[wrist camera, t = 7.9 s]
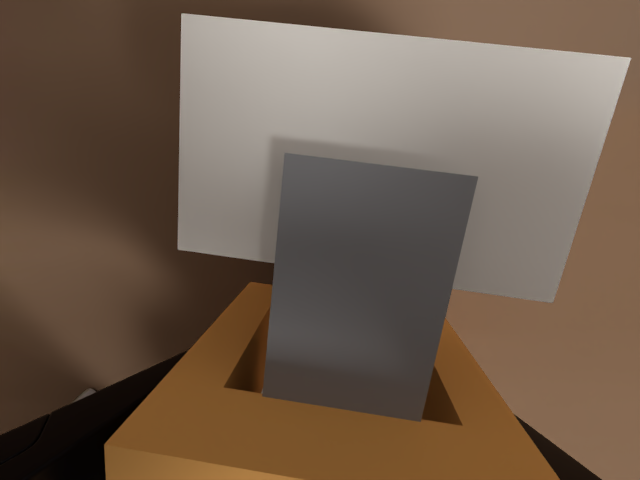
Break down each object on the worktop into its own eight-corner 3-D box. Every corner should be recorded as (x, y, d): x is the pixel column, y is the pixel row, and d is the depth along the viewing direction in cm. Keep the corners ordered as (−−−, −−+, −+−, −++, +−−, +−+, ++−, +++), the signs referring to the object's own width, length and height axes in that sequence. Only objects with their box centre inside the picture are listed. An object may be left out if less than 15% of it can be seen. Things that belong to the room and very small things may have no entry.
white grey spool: (274, 104, 11) (163, -6, 4) (463, 126, 11) (666, 43, 4) (245, 451, 15) (160, 688, 8) (387, 476, 14) (426, 748, 8)
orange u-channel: (438, 308, 11) (595, 530, 4) (422, 379, 12) (536, 676, 5) (250, 281, 11) (103, 444, 4) (245, 352, 12) (111, 589, 5)
